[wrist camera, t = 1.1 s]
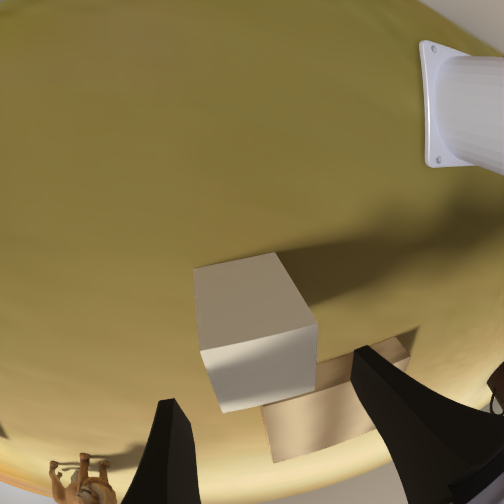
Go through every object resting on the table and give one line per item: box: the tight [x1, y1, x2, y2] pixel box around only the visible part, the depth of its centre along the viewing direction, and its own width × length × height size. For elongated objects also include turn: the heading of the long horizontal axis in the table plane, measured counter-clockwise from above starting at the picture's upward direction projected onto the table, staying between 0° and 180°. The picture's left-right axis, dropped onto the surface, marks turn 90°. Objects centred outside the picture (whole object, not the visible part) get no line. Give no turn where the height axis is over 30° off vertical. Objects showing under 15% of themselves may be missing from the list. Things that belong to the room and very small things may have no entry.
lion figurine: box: [49, 453, 117, 504], centre depth 19 cm, size 15×5×9 cm, turn 130°
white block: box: [193, 252, 318, 413], centre depth 14 cm, size 4×4×6 cm
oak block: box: [260, 337, 411, 463], centre depth 23 cm, size 12×12×3 cm
